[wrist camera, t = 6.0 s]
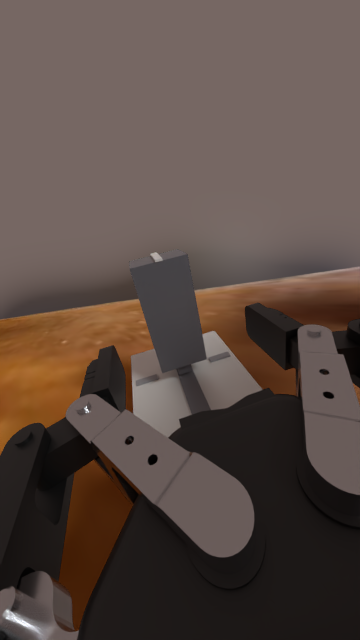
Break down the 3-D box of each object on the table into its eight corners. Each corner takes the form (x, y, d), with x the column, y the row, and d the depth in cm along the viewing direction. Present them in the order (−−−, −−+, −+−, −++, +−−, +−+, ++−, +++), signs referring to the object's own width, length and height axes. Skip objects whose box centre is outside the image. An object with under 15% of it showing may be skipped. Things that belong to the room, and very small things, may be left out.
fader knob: (160, 362, 21) (128, 259, 17) (198, 350, 22) (177, 246, 17) (165, 382, 19) (128, 266, 14) (208, 368, 19) (187, 251, 15)
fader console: (138, 376, 26) (130, 354, 24) (217, 351, 27) (214, 328, 25) (202, 1136, 4) (164, 1332, 3) (576, 856, 5) (684, 896, 4)
